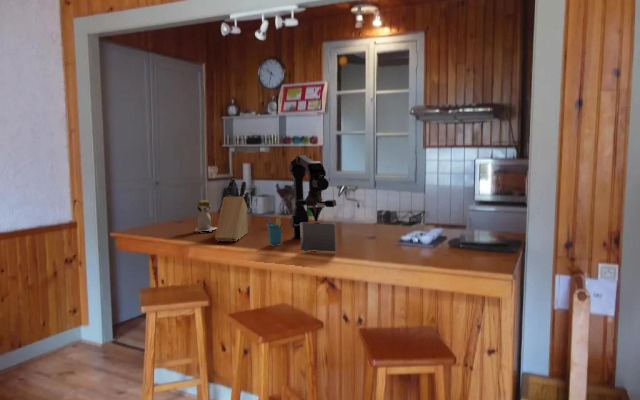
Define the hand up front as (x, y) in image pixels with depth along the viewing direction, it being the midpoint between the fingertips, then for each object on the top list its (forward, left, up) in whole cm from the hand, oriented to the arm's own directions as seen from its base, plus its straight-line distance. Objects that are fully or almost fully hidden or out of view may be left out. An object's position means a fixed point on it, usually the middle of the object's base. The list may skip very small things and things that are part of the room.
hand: (316, 221), depth 228 cm
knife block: (-28, -50, -13) cm, 59 cm away
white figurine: (-43, -72, -13) cm, 85 cm away
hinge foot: (+7, -6, -13) cm, 16 cm away
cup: (-8, -23, -13) cm, 28 cm away
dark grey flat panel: (+9, +2, -12) cm, 15 cm away
